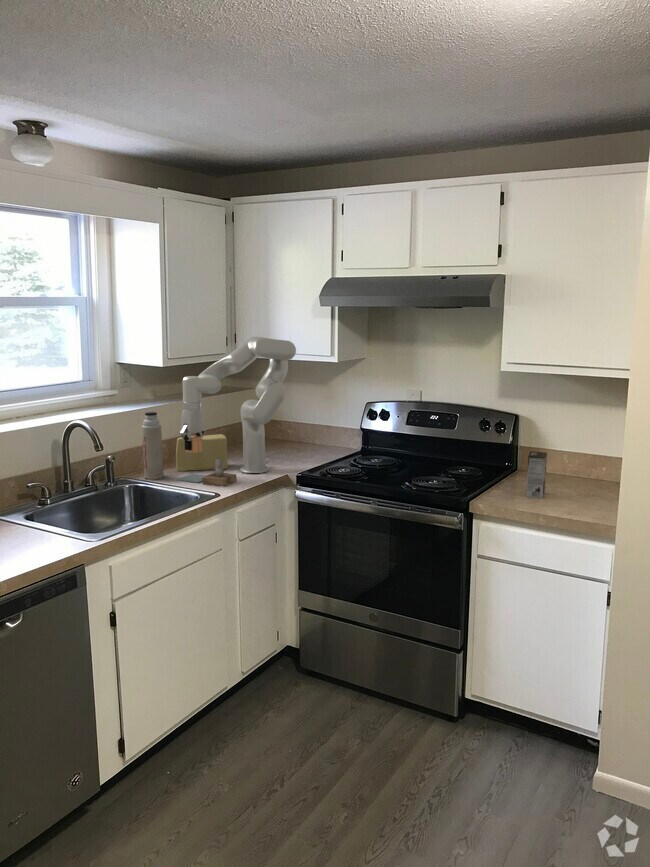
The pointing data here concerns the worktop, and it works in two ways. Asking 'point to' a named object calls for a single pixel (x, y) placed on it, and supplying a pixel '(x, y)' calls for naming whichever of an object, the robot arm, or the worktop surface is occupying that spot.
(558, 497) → the worktop surface
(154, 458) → the thermos bottle
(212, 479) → the post stand
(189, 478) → the mat
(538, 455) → the coffee box
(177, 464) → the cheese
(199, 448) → the cap
